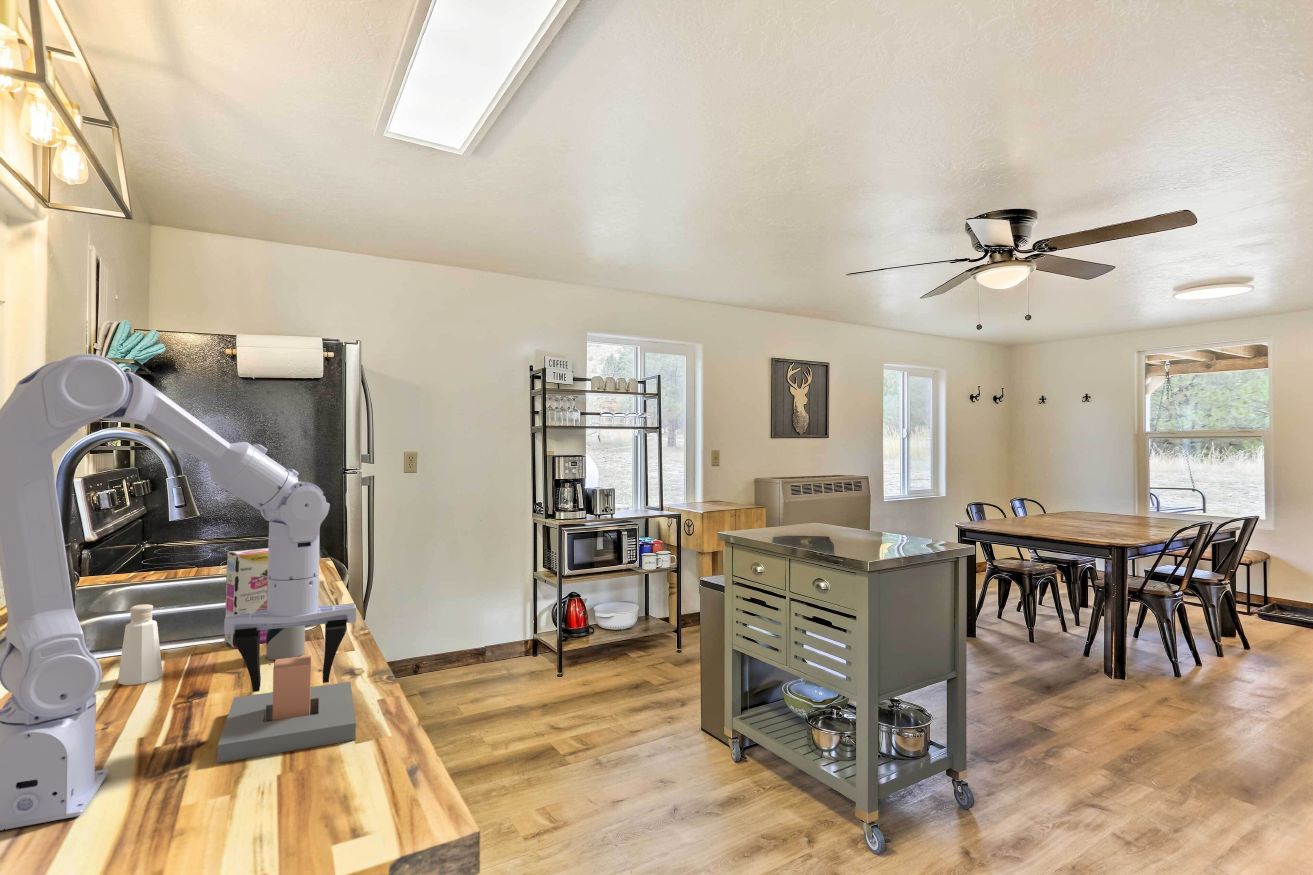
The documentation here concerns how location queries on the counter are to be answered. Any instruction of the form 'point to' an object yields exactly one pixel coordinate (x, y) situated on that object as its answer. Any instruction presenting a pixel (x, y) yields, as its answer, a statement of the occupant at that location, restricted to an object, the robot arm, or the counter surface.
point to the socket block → (287, 724)
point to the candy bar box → (246, 585)
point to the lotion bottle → (285, 641)
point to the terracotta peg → (291, 687)
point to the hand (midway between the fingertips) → (291, 684)
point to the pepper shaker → (140, 648)
